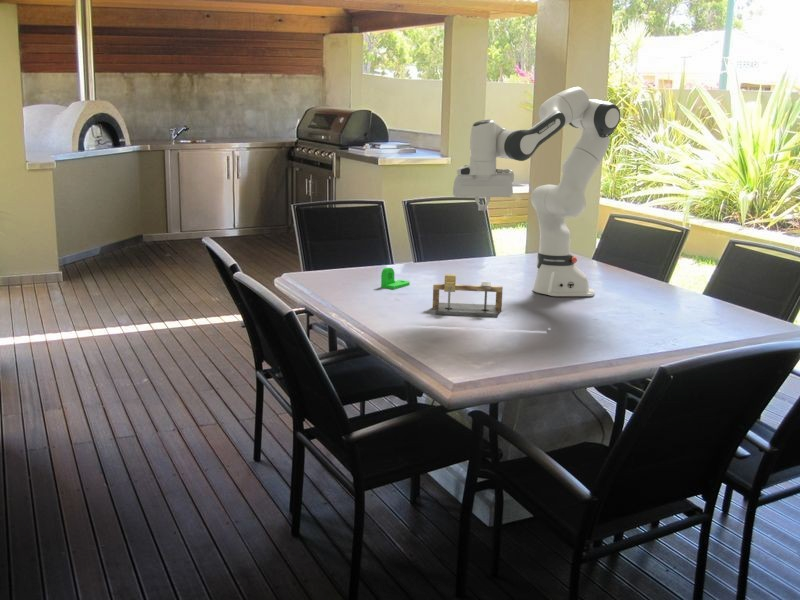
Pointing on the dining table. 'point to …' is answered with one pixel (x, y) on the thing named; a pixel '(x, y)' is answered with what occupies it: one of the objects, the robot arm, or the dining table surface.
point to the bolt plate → (466, 310)
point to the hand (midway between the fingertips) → (482, 210)
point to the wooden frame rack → (483, 287)
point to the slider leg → (449, 285)
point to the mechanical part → (391, 280)
